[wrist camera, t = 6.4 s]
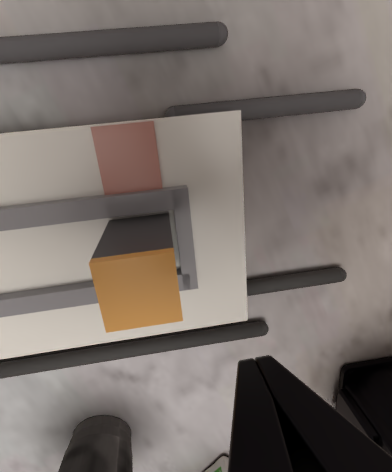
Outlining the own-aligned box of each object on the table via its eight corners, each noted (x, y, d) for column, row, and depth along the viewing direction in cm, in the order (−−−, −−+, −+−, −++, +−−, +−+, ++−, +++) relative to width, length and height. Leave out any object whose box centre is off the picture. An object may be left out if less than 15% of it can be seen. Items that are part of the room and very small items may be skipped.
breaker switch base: (228, 111, 16) (245, 109, 13) (237, 298, 21) (251, 327, 18) (-149, 148, 15) (-227, 155, 12) (-52, 341, 19) (-90, 382, 16)
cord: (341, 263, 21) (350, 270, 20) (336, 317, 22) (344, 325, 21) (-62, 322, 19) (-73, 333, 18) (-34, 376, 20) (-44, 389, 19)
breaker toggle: (168, 212, 15) (174, 252, 11) (175, 265, 16) (183, 320, 12) (109, 220, 15) (88, 263, 10) (120, 272, 16) (106, 332, 11)
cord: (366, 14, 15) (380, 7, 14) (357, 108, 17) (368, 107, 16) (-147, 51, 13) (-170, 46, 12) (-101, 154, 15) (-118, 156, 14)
